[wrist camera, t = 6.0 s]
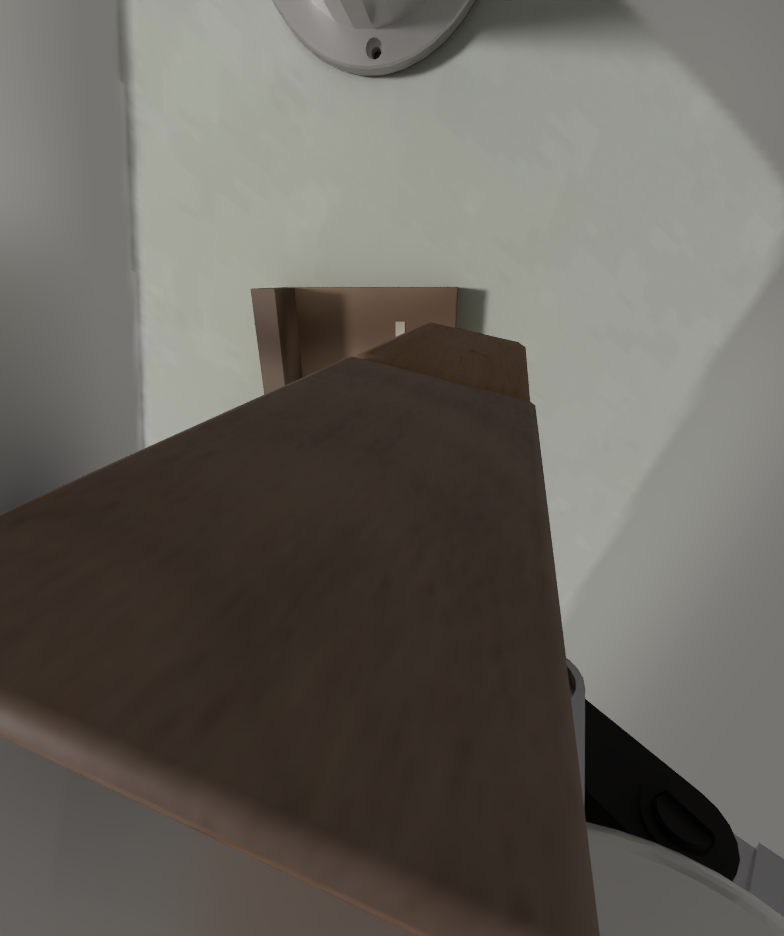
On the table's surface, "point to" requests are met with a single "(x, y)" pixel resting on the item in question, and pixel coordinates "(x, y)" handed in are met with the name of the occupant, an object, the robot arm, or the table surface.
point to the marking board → (337, 324)
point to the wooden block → (324, 639)
